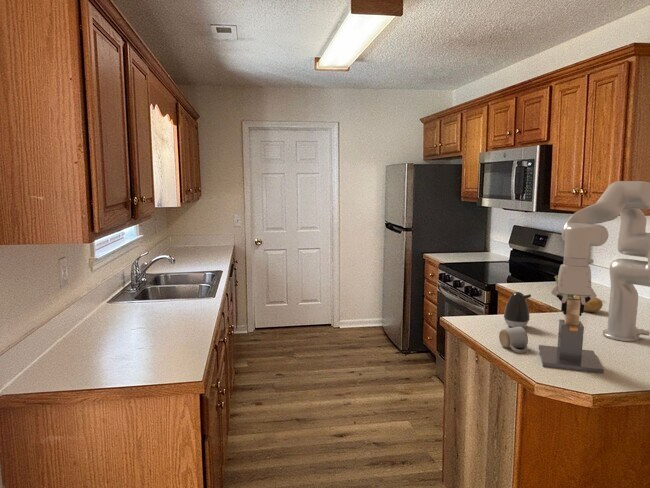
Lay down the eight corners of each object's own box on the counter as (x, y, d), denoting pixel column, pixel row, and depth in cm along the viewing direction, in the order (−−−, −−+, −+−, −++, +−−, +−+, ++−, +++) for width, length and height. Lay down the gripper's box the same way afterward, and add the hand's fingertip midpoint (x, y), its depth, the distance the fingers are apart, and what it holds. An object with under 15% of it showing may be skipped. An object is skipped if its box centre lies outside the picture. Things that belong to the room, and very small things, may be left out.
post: (575, 349, 169) (578, 298, 166) (576, 353, 165) (580, 301, 163) (562, 348, 170) (565, 297, 168) (563, 352, 167) (567, 299, 164)
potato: (591, 316, 222) (592, 299, 221) (568, 308, 235) (569, 292, 234) (608, 314, 224) (609, 297, 223) (585, 306, 238) (586, 291, 236)
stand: (592, 354, 174) (595, 318, 172) (602, 373, 157) (606, 333, 155) (538, 348, 180) (540, 313, 178) (542, 366, 163) (545, 327, 161)
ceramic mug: (497, 344, 184) (498, 325, 183) (516, 343, 186) (517, 323, 185) (513, 354, 174) (514, 334, 173) (533, 353, 176) (534, 333, 174)
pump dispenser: (531, 331, 200) (533, 295, 198) (505, 329, 202) (507, 294, 200) (526, 323, 210) (528, 289, 208) (501, 322, 212) (503, 288, 210)
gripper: (601, 261, 164) (597, 313, 167) (547, 258, 170) (544, 309, 172) (606, 265, 157) (601, 319, 160) (549, 262, 163) (546, 314, 165)
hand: (572, 313), depth 166 cm, fingers closed on post, 4 cm apart
